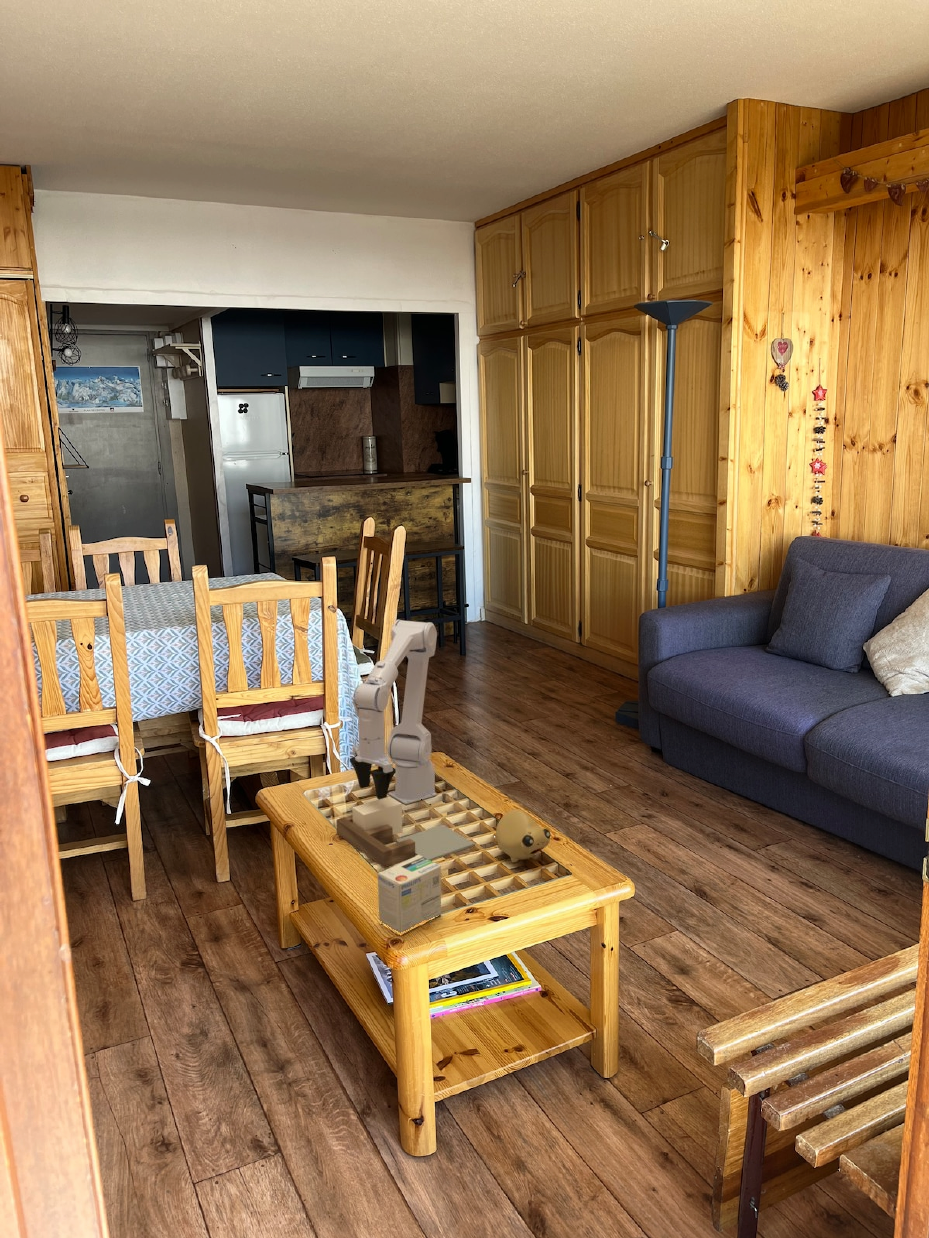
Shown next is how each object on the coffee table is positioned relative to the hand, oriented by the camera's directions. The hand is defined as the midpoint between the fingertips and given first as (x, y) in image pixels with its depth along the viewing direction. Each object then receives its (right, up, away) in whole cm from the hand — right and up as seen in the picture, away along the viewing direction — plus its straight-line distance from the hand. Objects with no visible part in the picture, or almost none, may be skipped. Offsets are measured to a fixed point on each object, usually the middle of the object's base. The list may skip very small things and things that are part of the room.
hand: (373, 792), depth 217 cm
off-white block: (+1, -10, 0) cm, 10 cm away
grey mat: (+14, -11, -5) cm, 18 cm away
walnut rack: (+1, -11, -6) cm, 12 cm away
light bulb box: (+10, -18, -36) cm, 41 cm away
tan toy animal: (+33, -12, -12) cm, 37 cm away
